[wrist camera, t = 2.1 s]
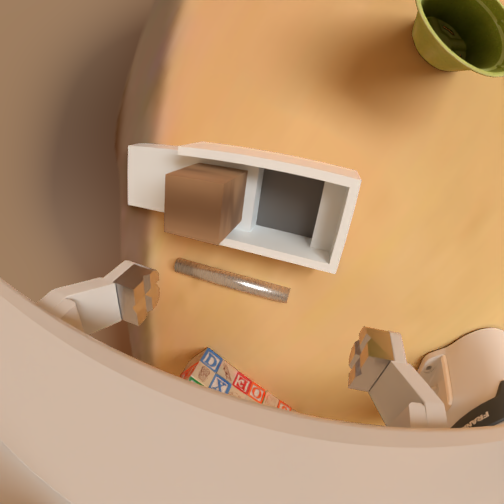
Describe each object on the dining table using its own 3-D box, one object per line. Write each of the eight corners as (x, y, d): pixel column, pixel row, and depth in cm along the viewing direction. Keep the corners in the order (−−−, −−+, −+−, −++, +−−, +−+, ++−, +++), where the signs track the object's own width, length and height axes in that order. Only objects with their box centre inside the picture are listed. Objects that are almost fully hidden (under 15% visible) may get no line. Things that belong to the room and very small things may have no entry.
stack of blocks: (188, 359, 44) (153, 415, 33) (208, 345, 41) (171, 407, 30) (279, 424, 46) (263, 478, 35) (304, 415, 43) (290, 475, 32)
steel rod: (285, 304, 31) (286, 302, 33) (289, 288, 31) (290, 288, 33) (173, 271, 34) (179, 272, 36) (176, 257, 34) (182, 258, 36)
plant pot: (379, 46, 19) (396, 15, 11) (414, -11, 14) (436, -49, 6) (457, 105, 19) (501, 102, 11) (488, 46, 14) (530, 29, 6)
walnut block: (241, 220, 28) (217, 245, 22) (195, 210, 29) (164, 231, 23) (247, 170, 25) (223, 184, 20) (198, 162, 26) (165, 174, 21)
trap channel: (336, 250, 29) (335, 274, 24) (140, 204, 33) (114, 217, 29) (356, 170, 25) (361, 180, 20) (141, 136, 29) (113, 141, 25)
